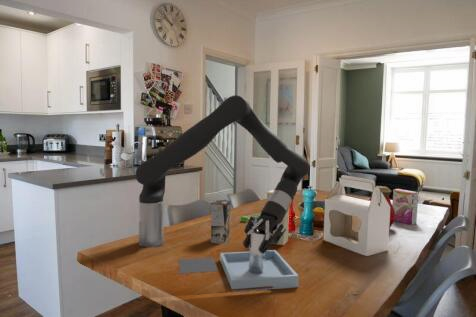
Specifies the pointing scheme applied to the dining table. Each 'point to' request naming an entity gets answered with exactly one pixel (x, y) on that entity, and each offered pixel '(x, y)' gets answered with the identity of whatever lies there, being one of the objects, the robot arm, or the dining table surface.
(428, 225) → the dining table surface
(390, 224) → the bottle
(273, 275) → the tray
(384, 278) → the dining table surface
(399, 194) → the candy bar box
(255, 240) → the bushing
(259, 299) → the dining table surface
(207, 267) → the mat
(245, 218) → the shape sorter
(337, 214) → the gable box
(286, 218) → the beige rectangular block
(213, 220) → the coffee box
